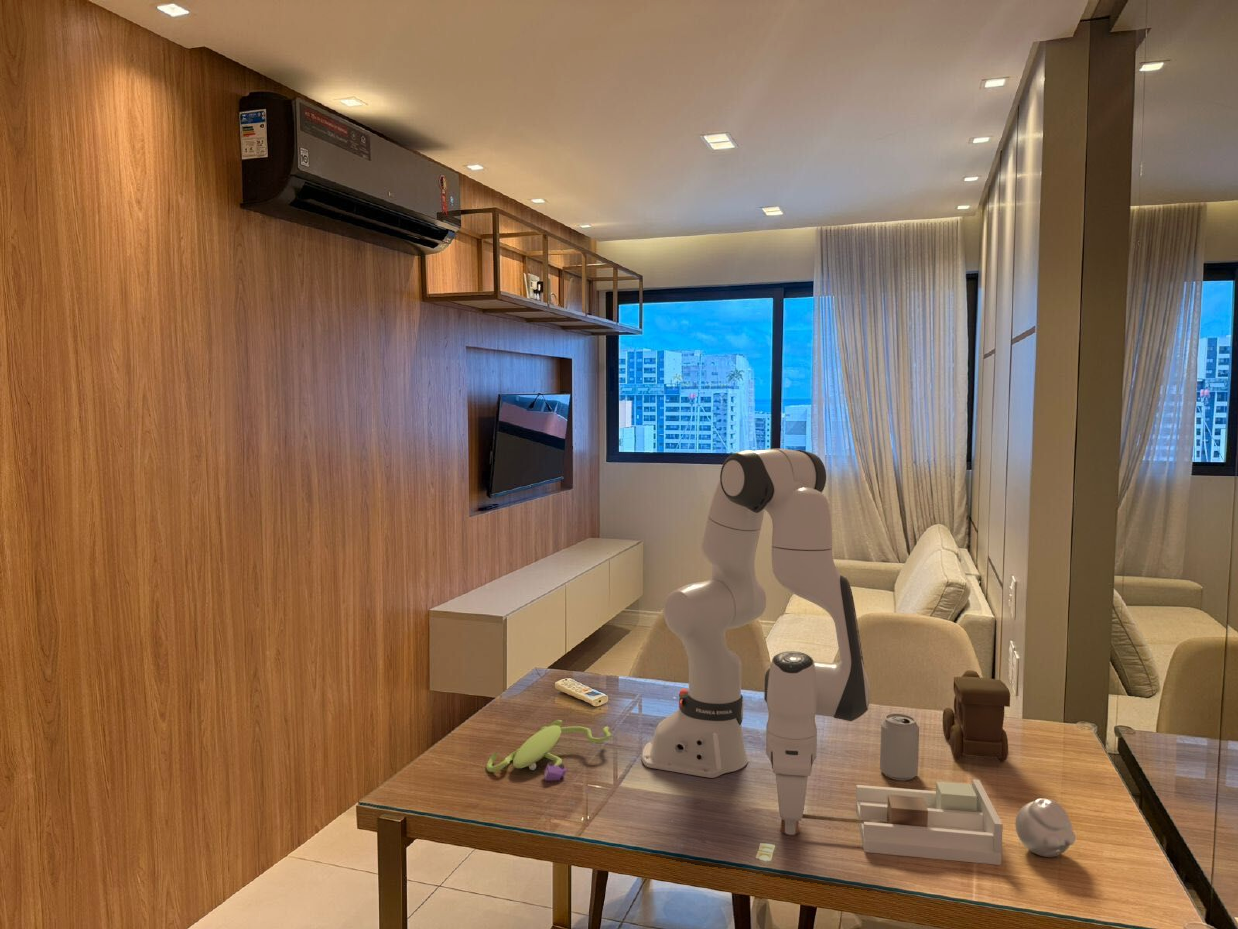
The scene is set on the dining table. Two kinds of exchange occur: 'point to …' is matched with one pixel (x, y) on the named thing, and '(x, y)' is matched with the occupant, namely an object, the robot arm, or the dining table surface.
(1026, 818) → the grey round lump
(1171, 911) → the dining table surface
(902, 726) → the can
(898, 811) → the brown block pusher rod
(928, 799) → the lane shelf
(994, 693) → the wooden toy train
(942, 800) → the sage block
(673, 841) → the dining table surface
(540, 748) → the figurine
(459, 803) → the dining table surface
